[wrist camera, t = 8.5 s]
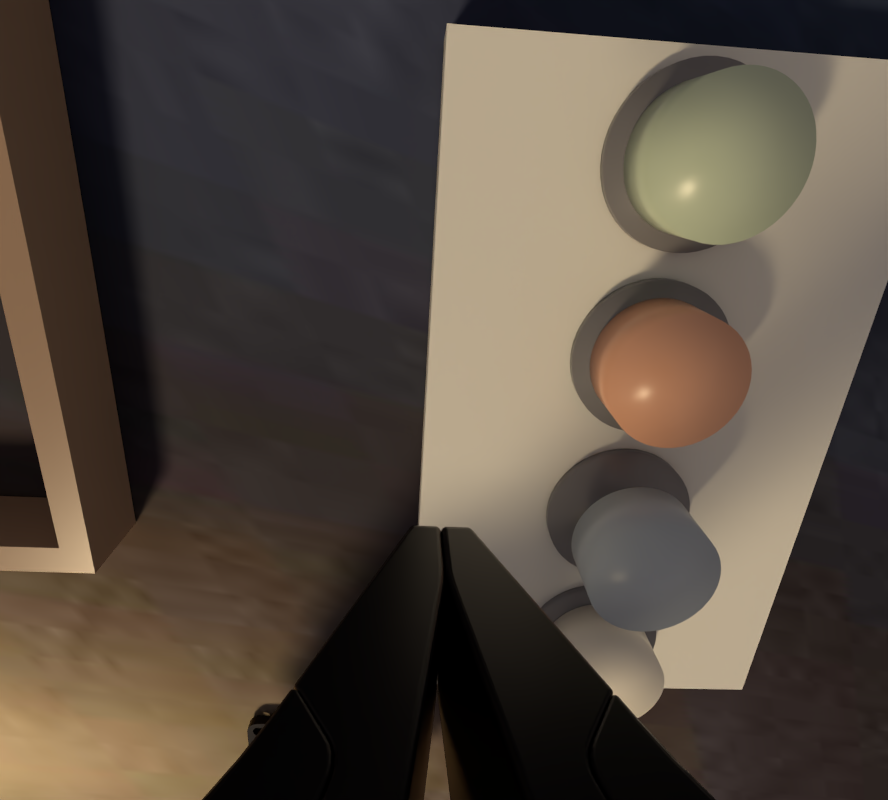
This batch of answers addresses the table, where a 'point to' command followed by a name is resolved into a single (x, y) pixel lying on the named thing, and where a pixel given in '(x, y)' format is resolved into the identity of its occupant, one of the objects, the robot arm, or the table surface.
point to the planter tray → (53, 318)
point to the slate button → (644, 559)
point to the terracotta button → (670, 372)
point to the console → (618, 287)
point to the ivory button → (616, 657)
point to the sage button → (721, 155)
